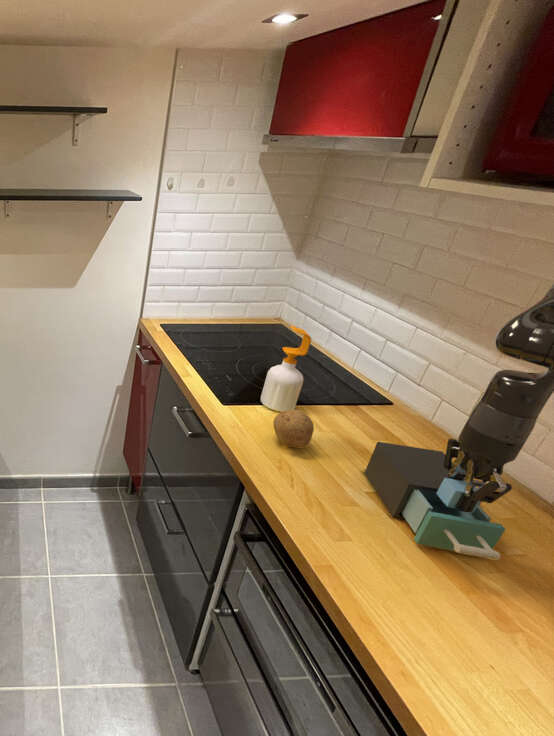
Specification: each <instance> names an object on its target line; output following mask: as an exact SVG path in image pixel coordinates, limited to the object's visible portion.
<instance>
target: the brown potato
mask: <svg viewBox="0 0 554 736" xmlns="http://www.w3.org/2000/svg"><path fill="white" fill-rule="evenodd" d="M273 429H274V433H275V435H276V437H277V439H278V440H279V442H280V443H281V444H282V445H284V446H286V447H288V448H298V449H303V448H306V447H308V446H309V445H310V443H311V440H312V438H313V434H314V431H315V428H314V423H313V421H312V418H311V417H310V416H309V415H307V414H306V413H305V412H303V411H301V410H298V409H294V410H286V411H283V412H279V413H278V414H277V415H276V416H275V417H274V419H273Z"/></svg>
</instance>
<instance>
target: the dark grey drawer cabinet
mask: <svg viewBox="0 0 554 736" xmlns="http://www.w3.org/2000/svg"><path fill="white" fill-rule="evenodd" d="M445 455H446V453H445V452H444V451H442V450H435V449H429V448H423V447H415V446H408V445H403V444H397V443H396V444H395V443H390V442H382V441H376V444H375V447H374V449H373V451H372V454H371V456H370V459H369V461H368V463H367V466H366V468H365V471H364V472H363V473H364V474H365V476H366V478H367V480H368V481H369V483H370V484H371V486H372V487H373V488H374V490H375V492H376V493H377V495H378V496H379V499H381V501H382V502H383V503H382V504H384V506H385V507H386V508H387V510H388V512H389V513H390V515H391V517H392V518H394V519H399V520H405V521H406V519H405V518H404V516H403V515H402V513H401V510H402V507H403V505H404V503H405V501H406V499H407V497H408V495H409V493H410V491H411V489H412V488H418V489H423V490H429V491H435V492H437V491H438V489H439V487H440V485H441V484H442V482H443V480H444V478H448V477H449V476H448V469H446V468H444V460H445ZM453 462H454V461H452V462H451V463H453ZM481 503H482V502H481V501H480V503H479V506H481Z"/></svg>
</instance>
